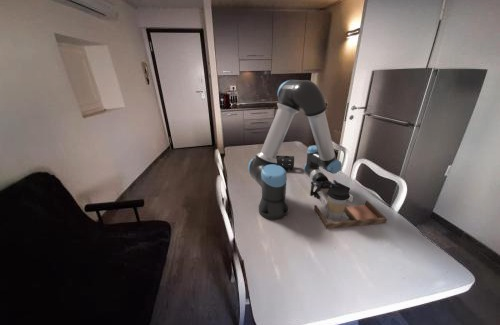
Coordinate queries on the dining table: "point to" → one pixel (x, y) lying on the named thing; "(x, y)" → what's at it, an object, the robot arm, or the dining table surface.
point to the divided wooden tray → (355, 216)
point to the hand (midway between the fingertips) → (337, 200)
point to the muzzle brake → (285, 161)
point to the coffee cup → (336, 202)
